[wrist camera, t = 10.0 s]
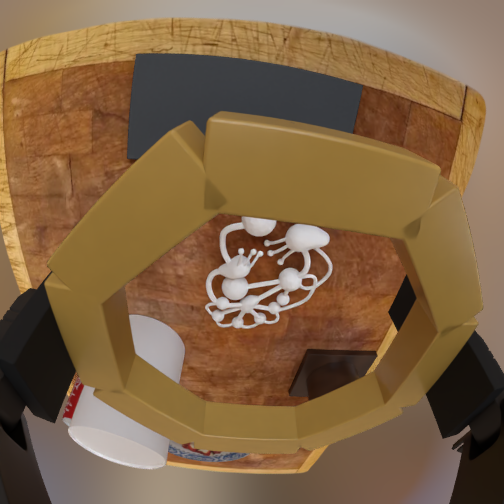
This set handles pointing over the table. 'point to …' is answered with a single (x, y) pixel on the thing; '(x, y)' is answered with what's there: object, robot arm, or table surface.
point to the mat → (230, 95)
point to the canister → (118, 425)
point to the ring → (279, 209)
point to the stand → (329, 371)
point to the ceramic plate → (202, 453)
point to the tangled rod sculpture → (289, 280)
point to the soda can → (72, 401)
